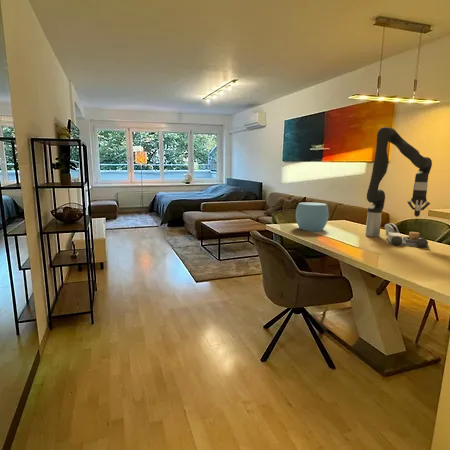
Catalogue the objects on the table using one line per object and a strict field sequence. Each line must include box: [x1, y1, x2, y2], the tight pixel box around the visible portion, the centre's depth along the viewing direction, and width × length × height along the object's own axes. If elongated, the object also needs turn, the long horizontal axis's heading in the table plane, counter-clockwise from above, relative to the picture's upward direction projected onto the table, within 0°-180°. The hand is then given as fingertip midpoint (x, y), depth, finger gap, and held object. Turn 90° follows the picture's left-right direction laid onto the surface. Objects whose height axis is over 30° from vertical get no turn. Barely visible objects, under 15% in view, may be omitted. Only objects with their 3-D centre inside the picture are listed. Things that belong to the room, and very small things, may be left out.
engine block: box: [408, 231, 421, 240], centre depth 210 cm, size 5×5×6 cm
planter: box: [295, 201, 330, 232], centre depth 255 cm, size 25×25×20 cm
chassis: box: [385, 231, 430, 249], centre depth 212 cm, size 22×20×6 cm
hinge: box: [384, 222, 400, 234], centre depth 237 cm, size 17×5×10 cm, turn 174°
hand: (416, 216), depth 209 cm, fingers closed
